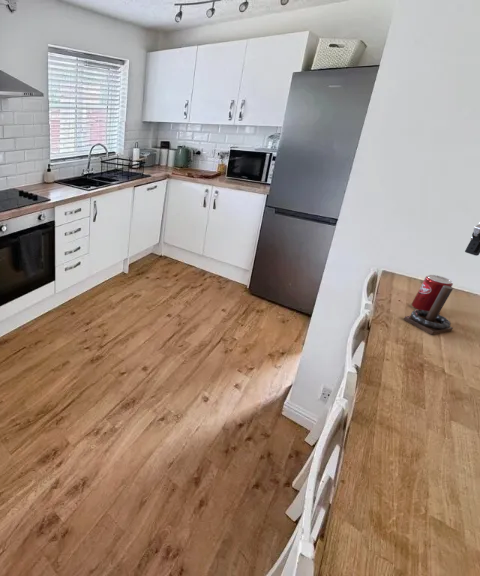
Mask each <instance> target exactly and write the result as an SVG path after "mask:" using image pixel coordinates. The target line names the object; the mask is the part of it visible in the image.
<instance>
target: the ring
mask: <svg viewBox="0 0 480 576" xmlns="http://www.w3.org/2000/svg"><path fill="white" fill-rule="evenodd" d="M428 312H429V311H426V310H416V309H414V310H412V311H411V313H410V316H411V317H412V318H413V319H414V320H415V321H417V322H418V323H420V324H422V325H425V326H428V327H430V328H435V329H448V328H449V327H451V324H452V323H451V321H450V320H449V319H447V317H445V316H443V315H441V314H440V313H439V314H438V316H437V318H436V320H438V321H440V322H441V323H442V324H440V323H434V322H431V321H428V320H425V319H423V318H421V317H420V316H419V315H423V316H427V314H428Z"/></svg>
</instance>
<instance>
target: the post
mask: <svg viewBox="0 0 480 576" xmlns="http://www.w3.org/2000/svg"><path fill="white" fill-rule="evenodd" d="M453 290H454V288H453V286H452V287H450V286H446V285H444V286H443V287H442V289H441V291H440V293H439V294H438V296H437V298H436V300H435V302H434V303H433V305H432V307H431V309H430V311H429V312H428V314H427V316H423V315H419V316H420V317H421V318H423V319H425V320H428V321H431V322H434V323H440V324H442V323H441V322H440V321H438V320H436V318H437V316H438V314H439V315H440V312H441V311H442V309H443V307H444V305H445V304H446V302H447V301H448V299H449V297H450V295H451V294H452V291H453ZM403 320H404V321H405V322H407V323H409V324H410V325H413V326H414V327H416V328H419V329H420V330H422V331H424V332H426V333H427V334H430V335H431V336H433V335H437V334H442V333H443V334H444V333H447V332H452V331H453V330H454V327H452V326H450V327H449V328H448V329H435V328H430V327H428V326H425V325H422V324H420V323H418V322H417V321H415V320H414V319H413V318H412V317H411V315H406V316H404V318H403Z"/></svg>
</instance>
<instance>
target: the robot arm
mask: <svg viewBox="0 0 480 576" xmlns="http://www.w3.org/2000/svg"><path fill="white" fill-rule="evenodd" d="M464 252H465V253H467V254H470V255H472V256H475V257H476V256H479V255H480V221H479V222H478V224H476V225H475V226H474V228H473V232H472V233H471V237H470V241H469V243H468V244H467V246H466V248H465V250H464Z"/></svg>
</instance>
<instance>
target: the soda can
mask: <svg viewBox="0 0 480 576" xmlns="http://www.w3.org/2000/svg"><path fill="white" fill-rule="evenodd" d="M422 281H423V282H422V283H421V285H420V287H419V288H418V291H417V293H416V295H415V296H414V298H413V300H412V302H411V306H412V308H413V309H414V310H426V311H430V309H431V307H432V305H433V303H434V302H435V300H436V298H437V296H438V294H439V293H440V291H441V289H442V287H443V286H444V285H446V286H450V287H452V288H453V284H454V283H453V281H452V279H450V278H447V277H445V276H441V275H436V274H428V275H426V276H425V277H424V279H423V280H422Z"/></svg>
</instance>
